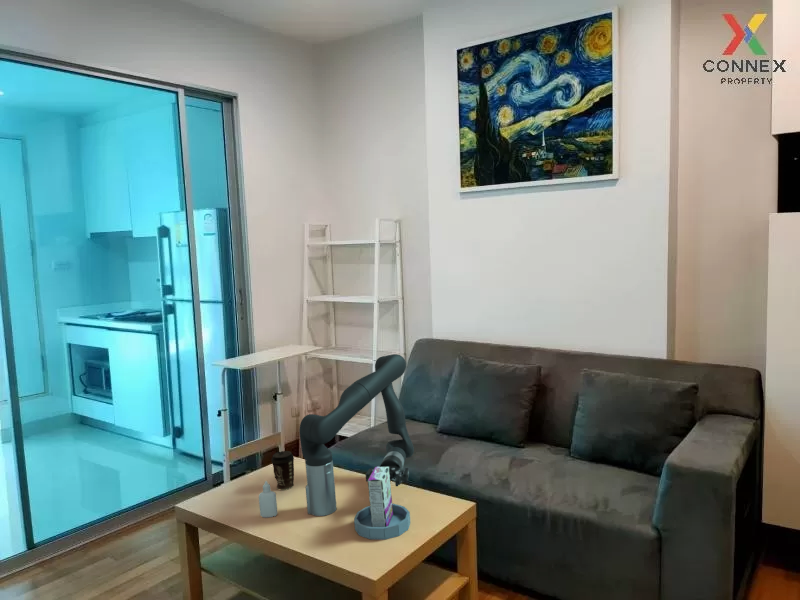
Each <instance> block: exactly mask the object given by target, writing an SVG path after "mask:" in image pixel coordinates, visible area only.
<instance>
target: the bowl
mask: <svg viewBox="0 0 800 600" xmlns="http://www.w3.org/2000/svg"><path fill="white" fill-rule="evenodd" d="M392 508H393V516H392V518H391V520H390V523H389V525H388V526H387V527H372V521H371V510H370V505H368V506H365V507H363V508H361V509H360V510H358V511H357V512H356V514H355V516H354V517H353V520H354V521H353V522H354V531H355V532H356V533H357V534H358V536H360V537H362V538H364V539H368V540H388V539H392V538H396V537H400V536H401V535H403V534H404V533H406V532H407V531H409V530H408V529H410V527H411V513H410V511H409V510H408V508H406V506H404V505H400V504H398V503H397V504H396V503H392ZM405 531H406V532H405Z"/></svg>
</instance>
